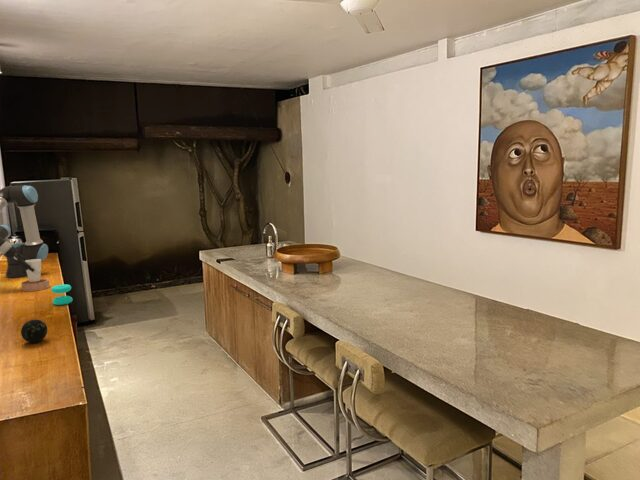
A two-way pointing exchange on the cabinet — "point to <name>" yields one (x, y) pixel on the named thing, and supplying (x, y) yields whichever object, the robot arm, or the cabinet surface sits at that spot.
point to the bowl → (35, 285)
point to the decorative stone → (34, 331)
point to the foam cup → (37, 265)
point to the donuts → (62, 299)
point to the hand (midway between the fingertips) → (39, 272)
